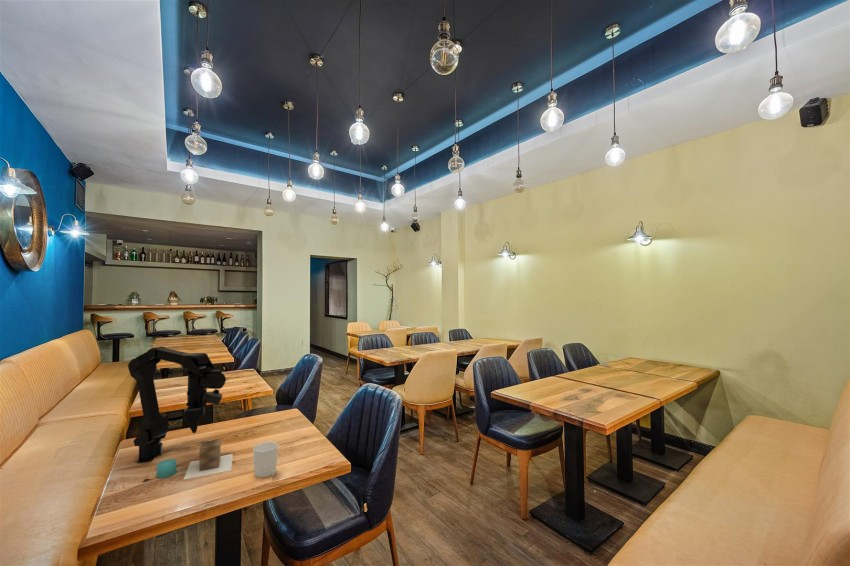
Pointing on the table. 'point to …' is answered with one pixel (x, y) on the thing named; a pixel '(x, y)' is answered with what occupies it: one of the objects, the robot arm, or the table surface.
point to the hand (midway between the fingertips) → (195, 428)
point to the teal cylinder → (166, 468)
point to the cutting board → (194, 469)
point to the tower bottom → (209, 463)
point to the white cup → (265, 459)
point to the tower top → (210, 449)
